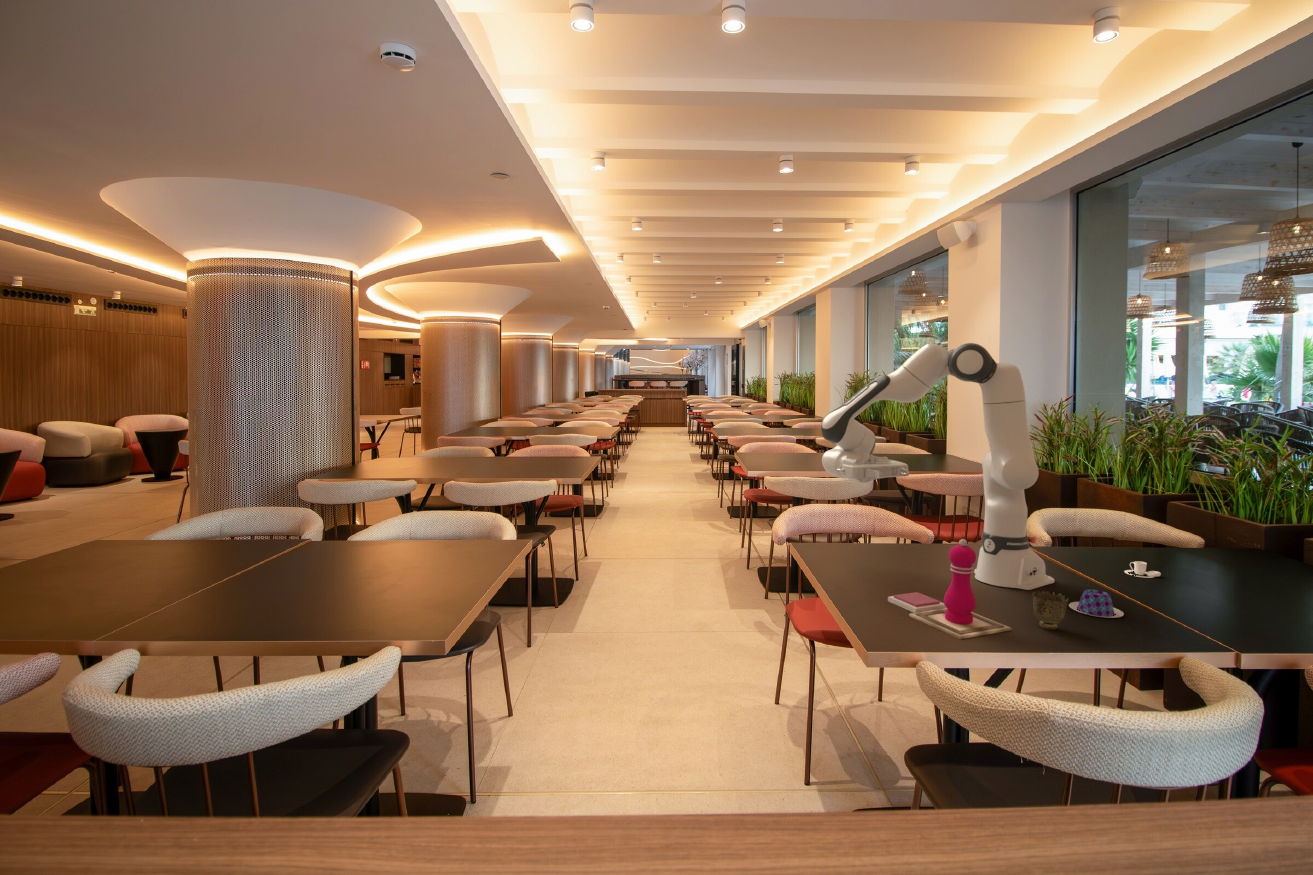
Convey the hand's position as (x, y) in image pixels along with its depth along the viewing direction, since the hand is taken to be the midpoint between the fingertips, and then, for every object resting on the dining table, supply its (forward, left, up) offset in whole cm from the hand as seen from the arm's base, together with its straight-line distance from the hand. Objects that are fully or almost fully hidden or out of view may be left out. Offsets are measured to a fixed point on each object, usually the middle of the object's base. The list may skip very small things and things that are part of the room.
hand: (894, 474), depth 195 cm
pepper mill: (+6, +31, -32) cm, 44 cm away
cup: (-12, +41, -32) cm, 53 cm away
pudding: (-35, +37, -33) cm, 60 cm away
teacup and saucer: (-80, +21, -33) cm, 89 cm away
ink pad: (+6, +17, -32) cm, 37 cm away
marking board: (+6, +31, -32) cm, 45 cm away
